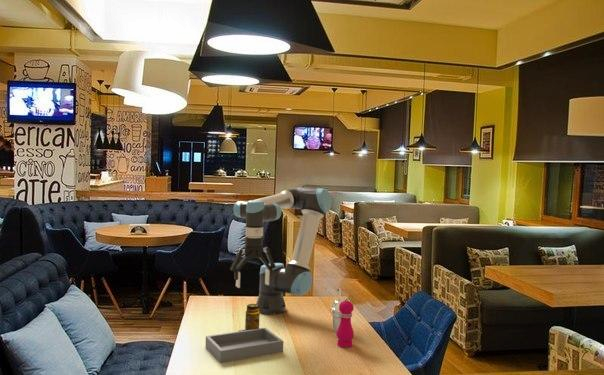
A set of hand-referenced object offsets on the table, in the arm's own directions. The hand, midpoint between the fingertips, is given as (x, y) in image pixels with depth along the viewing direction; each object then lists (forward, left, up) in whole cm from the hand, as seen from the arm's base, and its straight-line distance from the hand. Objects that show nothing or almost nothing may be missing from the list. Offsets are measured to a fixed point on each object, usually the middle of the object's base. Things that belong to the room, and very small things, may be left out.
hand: (252, 285), depth 224 cm
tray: (+10, +17, -21) cm, 28 cm away
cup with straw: (-37, +12, -21) cm, 44 cm away
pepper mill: (-30, +28, -21) cm, 46 cm away
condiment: (0, -1, -21) cm, 21 cm away
